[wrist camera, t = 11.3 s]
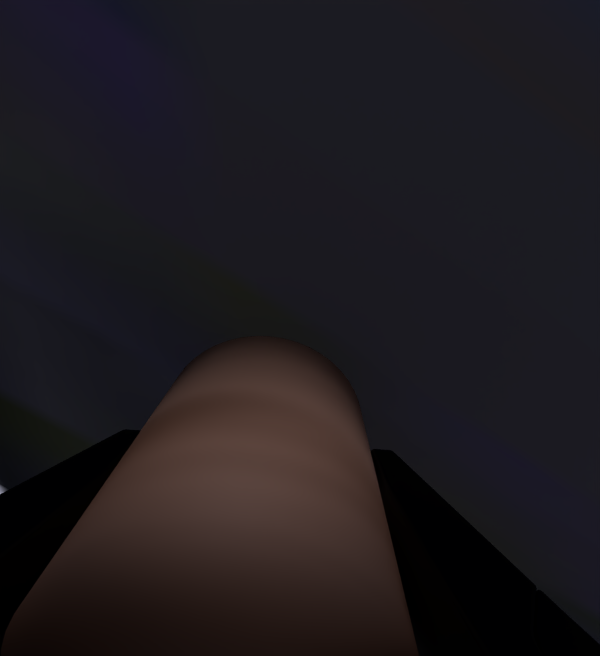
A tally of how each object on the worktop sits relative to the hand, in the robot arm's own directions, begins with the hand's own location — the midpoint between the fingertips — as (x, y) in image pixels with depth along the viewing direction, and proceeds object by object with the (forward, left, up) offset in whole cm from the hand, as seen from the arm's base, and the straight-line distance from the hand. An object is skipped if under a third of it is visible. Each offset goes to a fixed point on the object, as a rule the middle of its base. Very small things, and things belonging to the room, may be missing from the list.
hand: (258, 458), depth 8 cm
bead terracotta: (0, 0, -1) cm, 1 cm away
